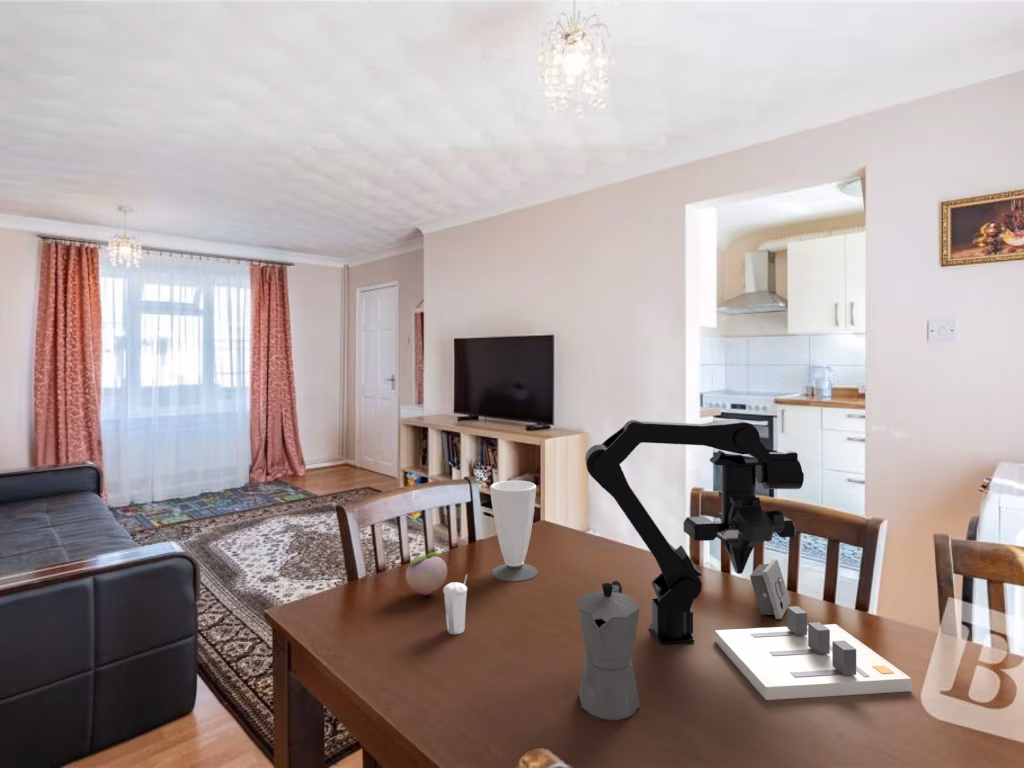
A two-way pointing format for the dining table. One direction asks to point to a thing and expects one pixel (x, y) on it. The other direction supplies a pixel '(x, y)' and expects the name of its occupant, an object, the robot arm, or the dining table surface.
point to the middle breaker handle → (819, 638)
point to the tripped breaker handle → (844, 657)
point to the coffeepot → (608, 652)
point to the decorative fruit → (426, 573)
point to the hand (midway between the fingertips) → (738, 572)
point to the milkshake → (455, 606)
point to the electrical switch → (770, 589)
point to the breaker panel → (806, 664)
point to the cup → (513, 527)
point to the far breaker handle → (797, 620)
